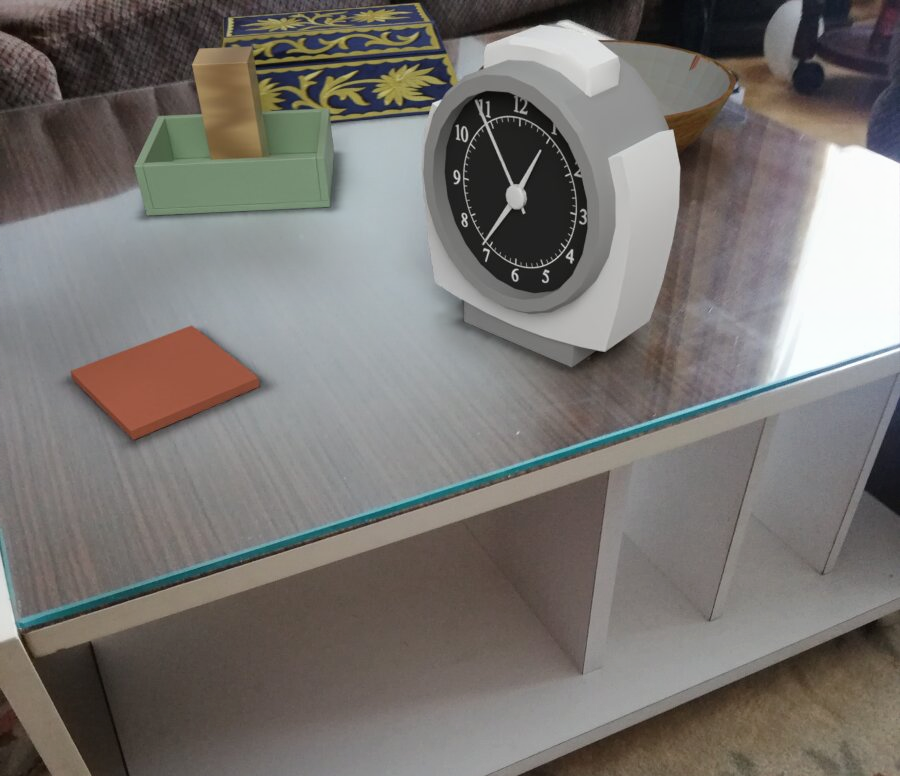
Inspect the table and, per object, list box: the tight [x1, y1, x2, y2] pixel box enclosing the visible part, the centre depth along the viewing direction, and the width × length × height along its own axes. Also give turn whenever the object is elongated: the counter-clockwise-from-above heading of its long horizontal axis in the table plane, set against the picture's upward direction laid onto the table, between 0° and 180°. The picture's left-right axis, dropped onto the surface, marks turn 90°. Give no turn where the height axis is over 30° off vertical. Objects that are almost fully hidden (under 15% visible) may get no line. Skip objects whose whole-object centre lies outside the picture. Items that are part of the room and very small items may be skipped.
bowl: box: [477, 39, 737, 155], centre depth 92 cm, size 25×25×8 cm
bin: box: [133, 109, 335, 216], centre depth 91 cm, size 18×14×5 cm
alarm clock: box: [421, 24, 681, 368], centre depth 64 cm, size 18×8×20 cm, turn 48°
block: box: [191, 46, 269, 160], centre depth 89 cm, size 5×5×11 cm
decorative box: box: [218, 1, 459, 123], centre depth 105 cm, size 11×30×9 cm, turn 101°
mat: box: [70, 324, 260, 441], centre depth 67 cm, size 10×10×1 cm
